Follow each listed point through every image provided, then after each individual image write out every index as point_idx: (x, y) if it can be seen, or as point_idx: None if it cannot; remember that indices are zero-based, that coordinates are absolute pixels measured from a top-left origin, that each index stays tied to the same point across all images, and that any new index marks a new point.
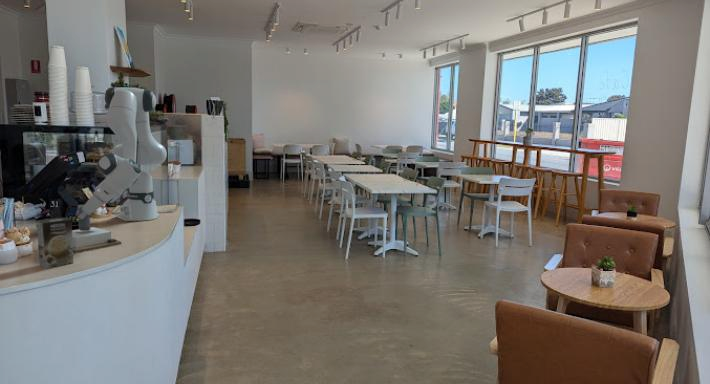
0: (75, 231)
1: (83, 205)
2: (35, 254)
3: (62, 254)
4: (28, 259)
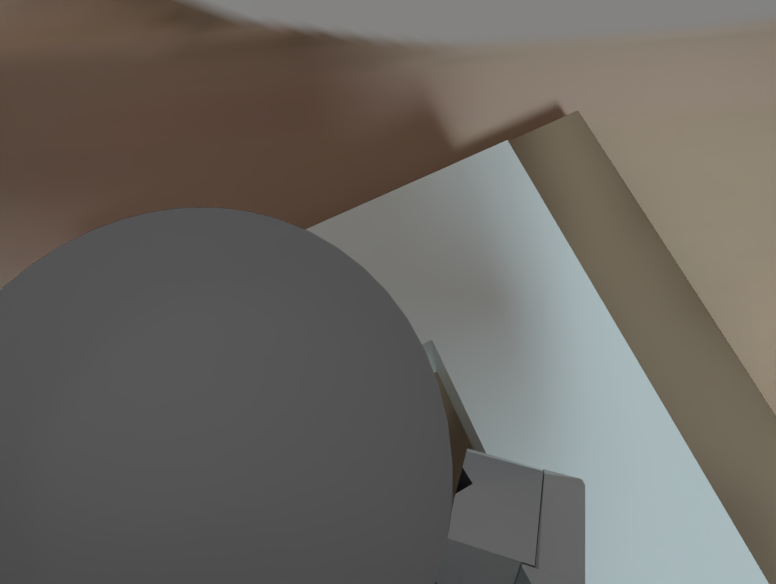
0: (504, 354)
1: (181, 474)
2: (179, 52)
3: None
4: (35, 23)
